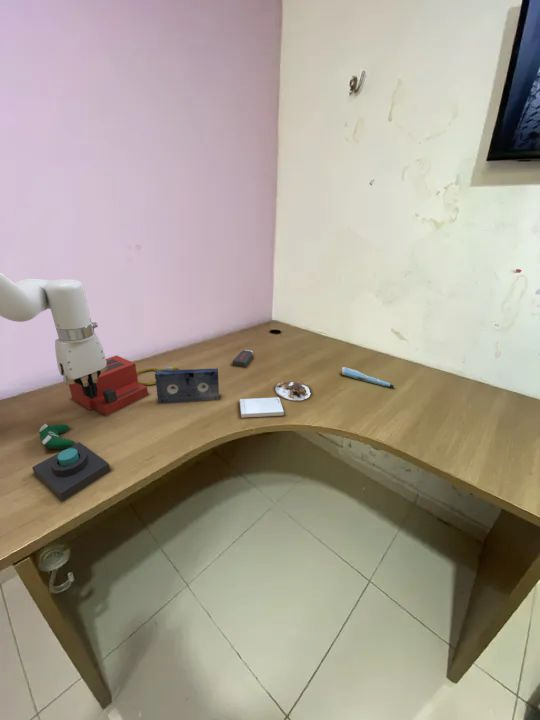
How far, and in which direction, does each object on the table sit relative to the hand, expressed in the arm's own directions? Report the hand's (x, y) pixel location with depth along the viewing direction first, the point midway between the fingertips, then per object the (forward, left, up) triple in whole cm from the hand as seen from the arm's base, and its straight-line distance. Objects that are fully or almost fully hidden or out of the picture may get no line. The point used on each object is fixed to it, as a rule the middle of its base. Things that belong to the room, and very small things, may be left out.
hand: (91, 396), depth 83 cm
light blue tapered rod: (+54, +69, -7) cm, 88 cm away
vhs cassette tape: (+13, +22, -7) cm, 27 cm away
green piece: (+2, -11, -7) cm, 13 cm away
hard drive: (+34, +31, -7) cm, 47 cm away
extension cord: (-7, +25, -7) cm, 26 cm away
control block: (+15, -14, -7) cm, 22 cm away
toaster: (-7, +9, -7) cm, 13 cm away
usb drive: (+9, +55, -7) cm, 56 cm away
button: (+15, -14, -3) cm, 21 cm away
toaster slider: (0, +5, -4) cm, 6 cm away
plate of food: (+37, +46, -7) cm, 60 cm away
